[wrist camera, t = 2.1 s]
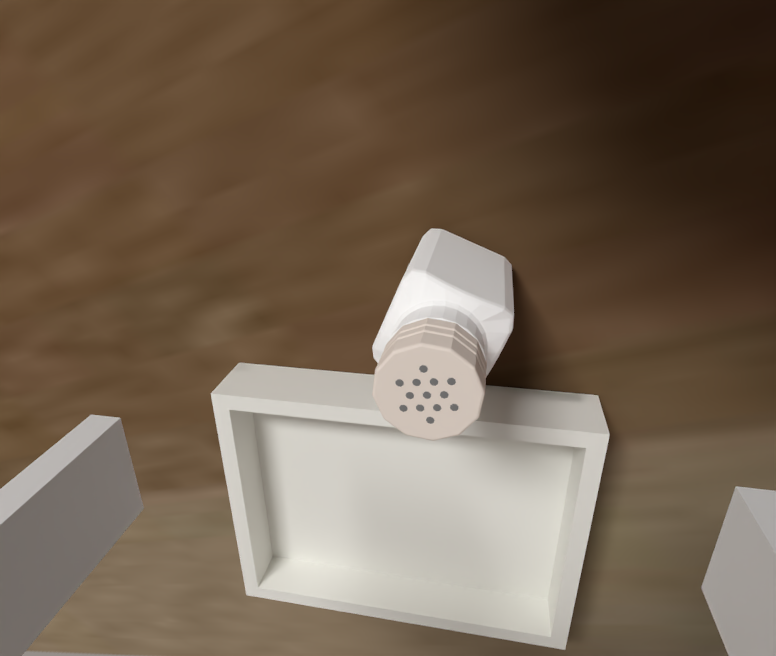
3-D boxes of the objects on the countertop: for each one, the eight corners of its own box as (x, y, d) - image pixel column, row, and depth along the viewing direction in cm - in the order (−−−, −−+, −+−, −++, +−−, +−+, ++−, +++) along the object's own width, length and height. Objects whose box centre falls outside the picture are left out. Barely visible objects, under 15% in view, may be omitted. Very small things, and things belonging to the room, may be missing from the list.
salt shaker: (395, 298, 24) (338, 418, 16) (430, 219, 22) (387, 307, 14) (475, 334, 24) (461, 473, 16) (517, 258, 22) (526, 369, 14)
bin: (238, 362, 27) (210, 393, 25) (597, 395, 24) (609, 434, 22) (266, 553, 33) (246, 594, 31) (559, 599, 30) (565, 649, 27)
